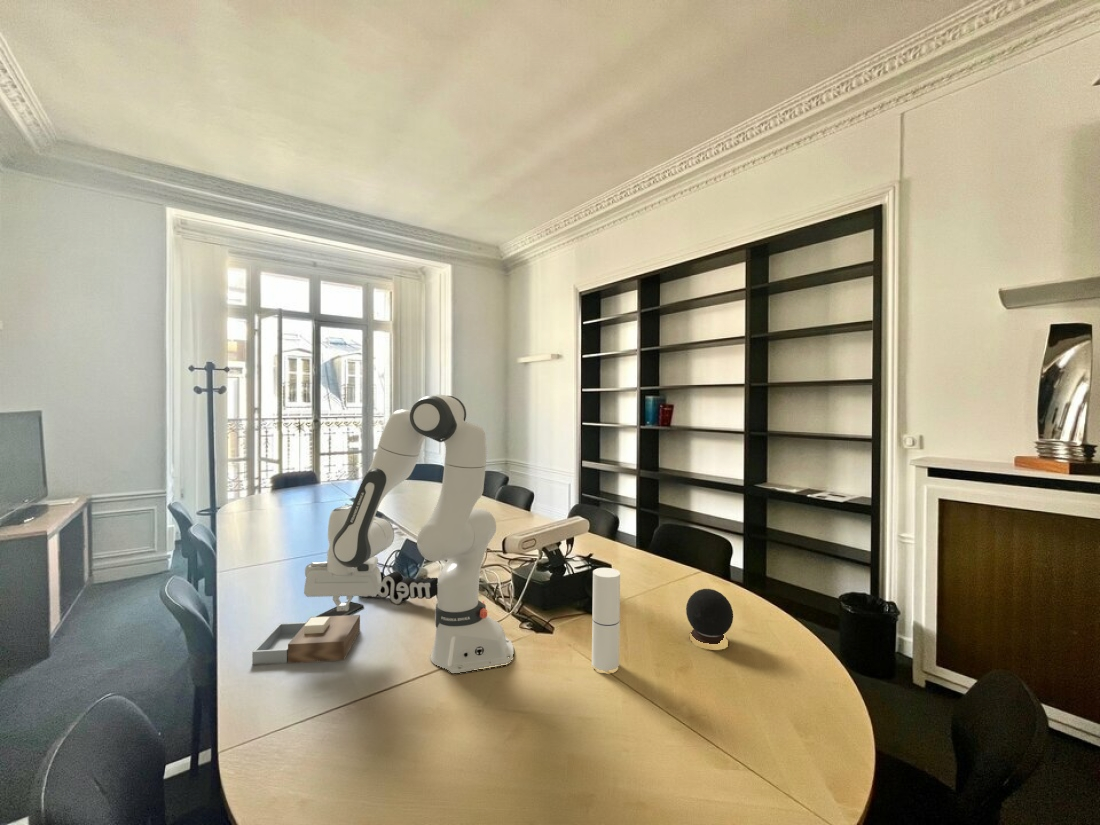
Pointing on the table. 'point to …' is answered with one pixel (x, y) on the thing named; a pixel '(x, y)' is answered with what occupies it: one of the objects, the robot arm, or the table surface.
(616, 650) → the cylindrical container
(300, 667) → the table surface
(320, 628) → the tile
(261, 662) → the box
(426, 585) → the decorative sign
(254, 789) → the table surface
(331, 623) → the walnut block
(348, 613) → the phone
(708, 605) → the black ball on stand
